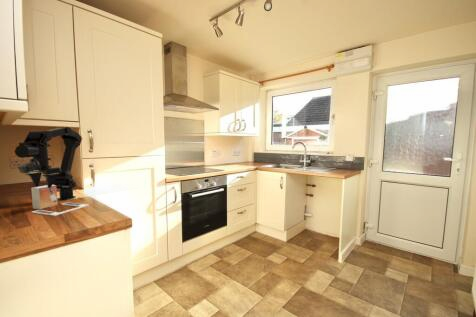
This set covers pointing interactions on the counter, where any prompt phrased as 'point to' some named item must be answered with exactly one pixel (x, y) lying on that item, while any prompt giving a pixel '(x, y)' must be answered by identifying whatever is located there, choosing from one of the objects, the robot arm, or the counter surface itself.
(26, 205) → the counter surface
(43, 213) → the bracket
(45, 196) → the small box
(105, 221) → the counter surface
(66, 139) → the robot arm
